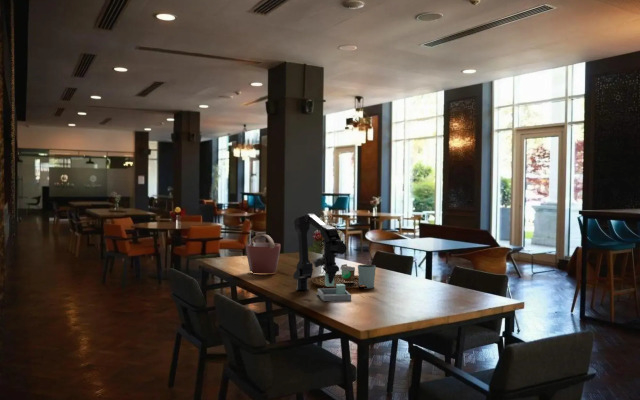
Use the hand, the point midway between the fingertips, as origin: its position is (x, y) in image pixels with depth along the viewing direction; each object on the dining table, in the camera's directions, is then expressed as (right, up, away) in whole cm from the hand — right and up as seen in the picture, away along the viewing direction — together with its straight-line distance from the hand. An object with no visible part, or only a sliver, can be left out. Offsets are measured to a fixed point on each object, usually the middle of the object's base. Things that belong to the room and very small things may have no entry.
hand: (329, 282), depth 260 cm
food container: (+10, -7, +40) cm, 42 cm away
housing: (+2, -8, +1) cm, 8 cm away
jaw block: (0, -2, 0) cm, 2 cm away
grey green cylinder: (+22, -7, +28) cm, 36 cm away
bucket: (-41, -6, +72) cm, 83 cm away
